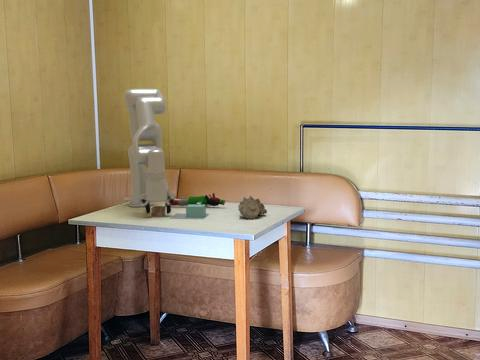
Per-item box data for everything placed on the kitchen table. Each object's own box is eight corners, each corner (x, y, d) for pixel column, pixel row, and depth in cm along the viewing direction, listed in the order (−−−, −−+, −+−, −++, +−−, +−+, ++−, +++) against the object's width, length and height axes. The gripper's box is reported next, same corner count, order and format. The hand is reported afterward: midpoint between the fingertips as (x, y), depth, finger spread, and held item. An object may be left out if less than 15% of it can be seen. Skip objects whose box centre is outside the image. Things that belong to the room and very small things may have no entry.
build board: (169, 220, 270) (169, 218, 270) (176, 215, 282) (176, 213, 282) (203, 220, 267) (203, 219, 267) (209, 215, 279) (209, 213, 279)
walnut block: (151, 218, 276) (151, 207, 275) (155, 216, 280) (154, 206, 280) (162, 218, 275) (161, 208, 274) (165, 216, 279) (164, 206, 279)
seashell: (234, 221, 271) (233, 200, 269) (248, 212, 284) (247, 192, 281) (256, 224, 266) (256, 202, 264) (270, 214, 279) (269, 193, 277)
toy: (176, 189, 318) (231, 187, 312) (177, 204, 319) (232, 202, 313) (155, 199, 286) (216, 197, 280) (156, 216, 287) (217, 214, 281)
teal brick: (186, 217, 272) (185, 206, 272) (189, 215, 277) (188, 204, 277) (203, 217, 271) (203, 206, 270) (205, 215, 276) (205, 204, 275)
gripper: (136, 177, 273) (137, 214, 275) (172, 177, 269) (174, 214, 272) (141, 175, 280) (143, 211, 282) (177, 175, 277) (178, 211, 279)
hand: (158, 213), depth 277 cm, fingers open, 9 cm apart
